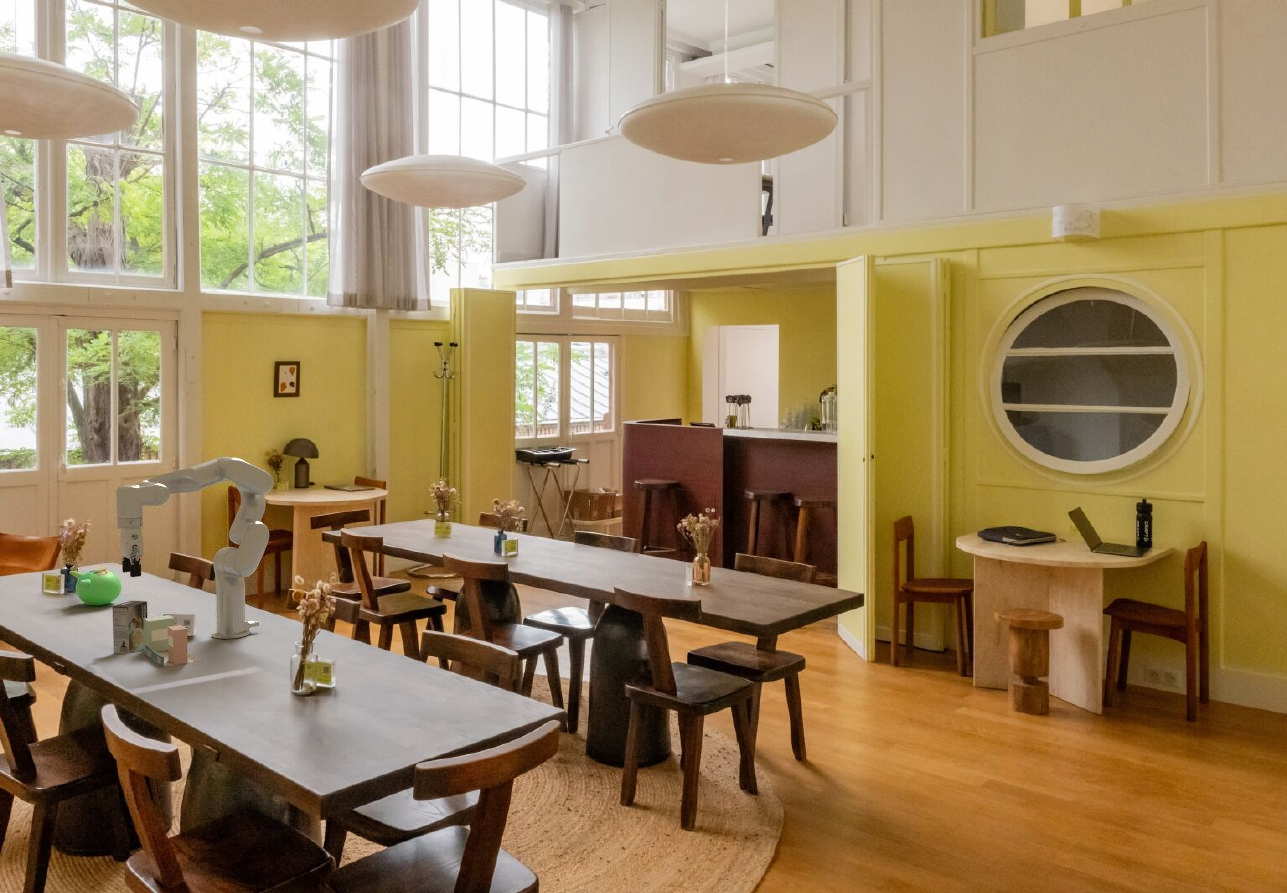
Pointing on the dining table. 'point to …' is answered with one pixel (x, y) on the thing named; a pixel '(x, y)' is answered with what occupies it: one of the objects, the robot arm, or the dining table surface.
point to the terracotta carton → (177, 645)
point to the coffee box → (129, 626)
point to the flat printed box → (163, 657)
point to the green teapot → (97, 586)
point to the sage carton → (157, 632)
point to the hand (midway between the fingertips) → (131, 574)
